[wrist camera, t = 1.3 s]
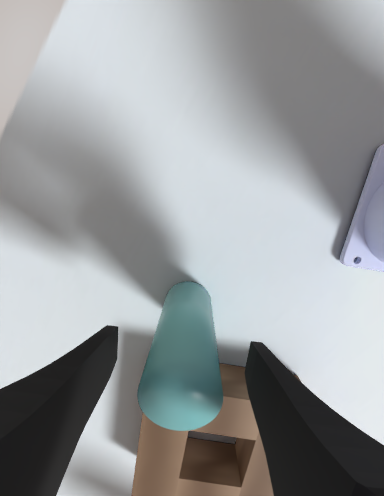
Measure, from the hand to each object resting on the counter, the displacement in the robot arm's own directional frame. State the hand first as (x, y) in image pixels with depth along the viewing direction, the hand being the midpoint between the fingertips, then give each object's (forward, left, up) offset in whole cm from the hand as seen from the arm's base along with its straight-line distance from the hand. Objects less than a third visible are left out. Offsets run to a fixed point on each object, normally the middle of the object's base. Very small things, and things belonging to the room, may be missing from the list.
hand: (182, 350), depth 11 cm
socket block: (-4, +11, -5) cm, 13 cm away
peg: (0, 0, -5) cm, 5 cm away
